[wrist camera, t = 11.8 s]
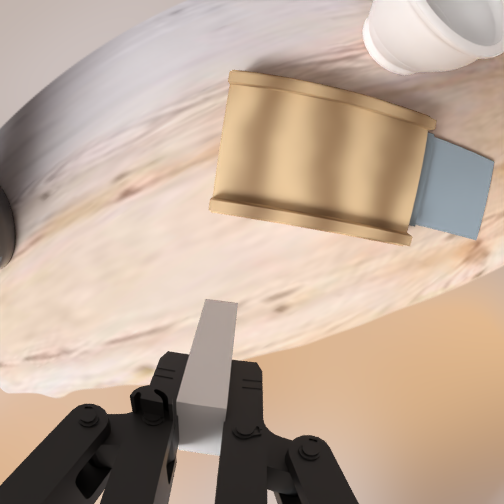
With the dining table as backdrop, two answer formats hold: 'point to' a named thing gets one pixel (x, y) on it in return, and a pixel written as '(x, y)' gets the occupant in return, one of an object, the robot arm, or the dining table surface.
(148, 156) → the dining table surface
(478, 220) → the cover plate
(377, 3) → the jar
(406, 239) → the slide box
